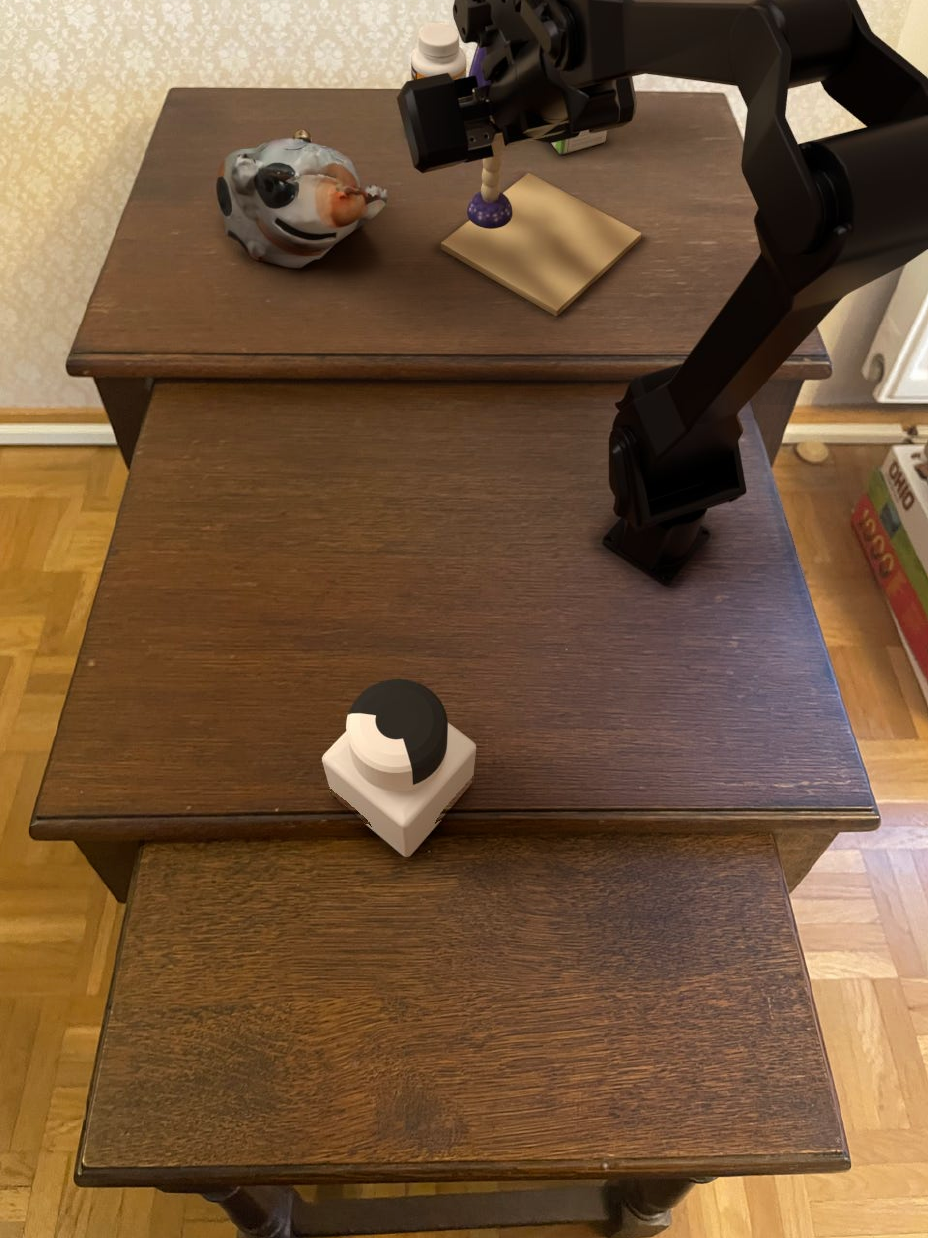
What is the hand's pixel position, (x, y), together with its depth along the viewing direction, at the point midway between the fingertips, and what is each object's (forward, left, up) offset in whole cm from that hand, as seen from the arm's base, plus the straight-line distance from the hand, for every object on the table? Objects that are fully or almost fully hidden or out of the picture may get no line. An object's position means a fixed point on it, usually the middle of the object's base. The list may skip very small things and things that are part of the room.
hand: (487, 131), depth 84 cm
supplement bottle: (+11, +15, -12) cm, 22 cm away
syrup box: (+20, +4, -12) cm, 24 cm away
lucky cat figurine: (-10, +14, -12) cm, 21 cm away
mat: (+4, -4, -12) cm, 14 cm away
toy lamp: (-1, -1, -8) cm, 8 cm away
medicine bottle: (-47, -30, -12) cm, 57 cm away
